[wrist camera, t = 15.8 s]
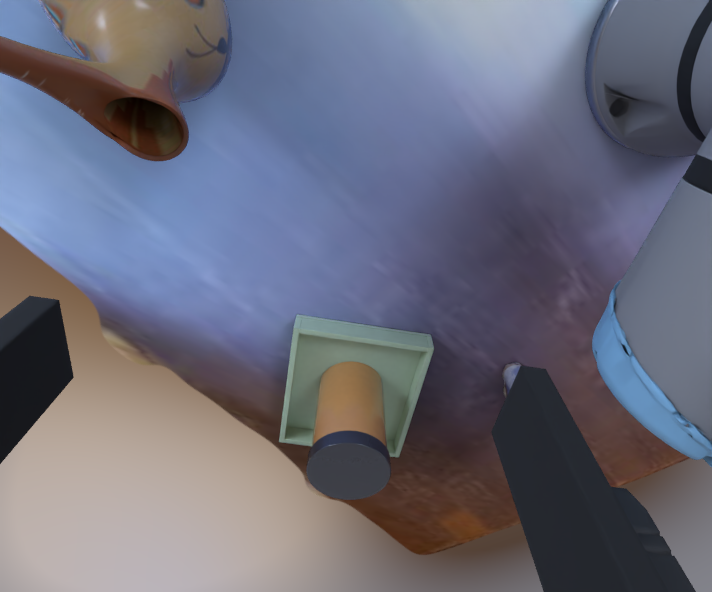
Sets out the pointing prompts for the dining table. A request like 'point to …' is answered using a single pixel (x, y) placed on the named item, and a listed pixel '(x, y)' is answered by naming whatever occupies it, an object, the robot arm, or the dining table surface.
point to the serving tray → (359, 344)
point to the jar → (349, 433)
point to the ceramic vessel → (130, 66)
